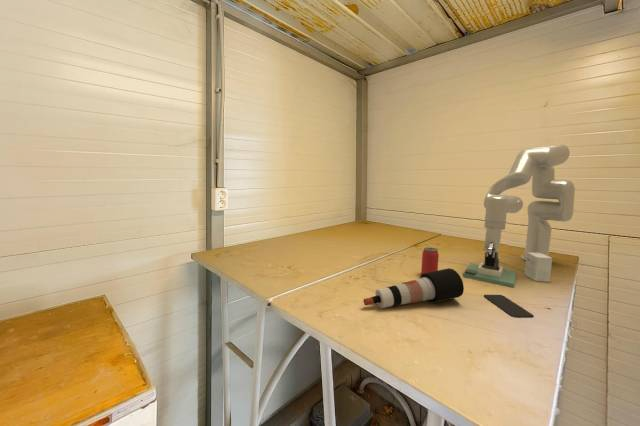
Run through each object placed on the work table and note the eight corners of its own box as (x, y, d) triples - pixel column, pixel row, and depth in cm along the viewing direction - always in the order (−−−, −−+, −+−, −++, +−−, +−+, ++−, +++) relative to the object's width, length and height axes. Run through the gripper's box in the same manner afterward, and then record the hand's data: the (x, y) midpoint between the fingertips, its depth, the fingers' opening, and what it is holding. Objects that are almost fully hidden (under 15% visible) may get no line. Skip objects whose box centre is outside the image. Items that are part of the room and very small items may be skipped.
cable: (363, 317, 89) (356, 287, 92) (448, 297, 97) (439, 270, 100) (374, 319, 80) (365, 285, 83) (467, 296, 88) (457, 266, 91)
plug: (484, 270, 119) (486, 250, 118) (498, 272, 116) (500, 252, 115) (483, 272, 116) (485, 252, 115) (496, 275, 113) (498, 255, 112)
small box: (549, 282, 109) (553, 258, 108) (534, 281, 110) (537, 257, 109) (538, 275, 117) (541, 252, 116) (524, 274, 118) (526, 251, 117)
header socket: (480, 267, 122) (481, 262, 122) (502, 272, 117) (502, 266, 116) (477, 272, 116) (478, 267, 115) (500, 277, 110) (501, 271, 110)
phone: (512, 316, 82) (482, 294, 96) (512, 318, 82) (481, 296, 96) (535, 316, 82) (502, 294, 96) (535, 318, 82) (501, 296, 97)
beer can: (437, 274, 118) (439, 248, 116) (436, 279, 112) (438, 251, 110) (421, 271, 121) (423, 246, 119) (420, 276, 115) (422, 250, 113)
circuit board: (470, 266, 129) (470, 261, 129) (515, 274, 118) (516, 269, 117) (462, 276, 115) (463, 271, 115) (513, 287, 104) (514, 281, 104)
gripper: (487, 221, 122) (483, 256, 125) (481, 226, 109) (478, 266, 111) (506, 223, 118) (503, 260, 120) (503, 229, 104) (499, 270, 107)
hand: (491, 263), depth 116 cm, fingers open, 9 cm apart
